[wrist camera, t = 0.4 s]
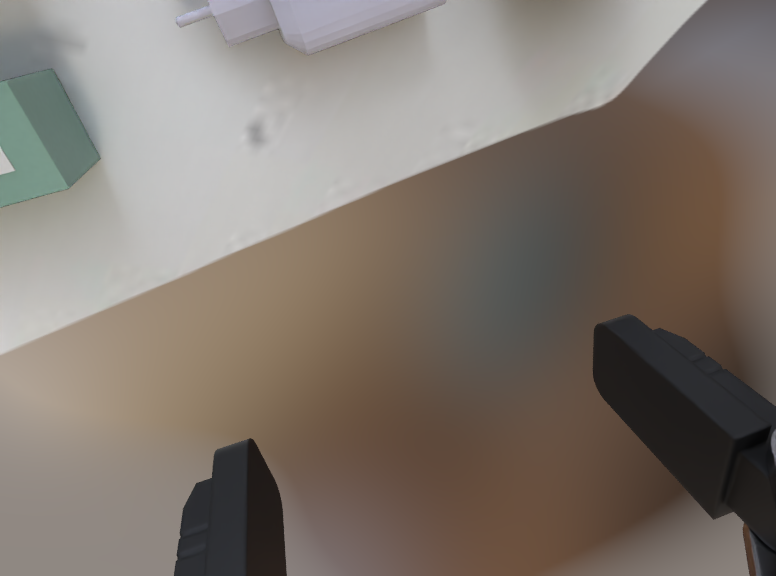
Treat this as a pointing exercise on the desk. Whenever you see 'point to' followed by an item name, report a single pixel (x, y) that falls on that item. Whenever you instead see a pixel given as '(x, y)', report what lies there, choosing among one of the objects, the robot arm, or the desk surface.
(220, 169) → the desk surface
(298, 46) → the charger
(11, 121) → the tissue box
